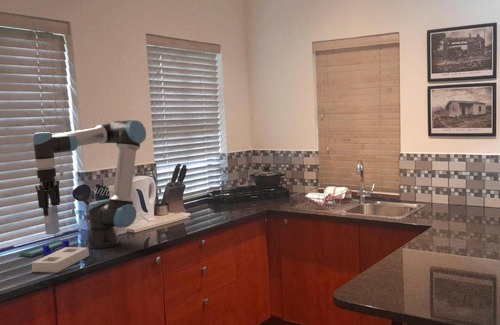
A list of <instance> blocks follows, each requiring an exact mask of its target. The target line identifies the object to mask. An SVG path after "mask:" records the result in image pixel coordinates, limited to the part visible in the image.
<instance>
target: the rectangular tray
mask: <svg viewBox="0 0 500 325" xmlns="http://www.w3.org/2000/svg"><path fill="white" fill-rule="evenodd" d="M63 240H64V239H55V240H52V241H49V242H47V243H42V244H40V245H37V246H34V247H31V248H28V249H25V250H22V251H21V250H20V251H19V252H18V254H19V255H20V256H21V257H30V258H33V257H36V256H39V255H41V254H42V255H43V245H49V248H50V250H51V251H53V250H54V249H57V248H61V246H62V243H63ZM68 240H69V239H68ZM70 242H71V240H69V243H70Z"/></svg>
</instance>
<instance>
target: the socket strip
mask: <svg viewBox="0 0 500 325" xmlns="http://www.w3.org/2000/svg"><path fill="white" fill-rule="evenodd" d="M57 250H58V251H57ZM57 250H55V251H56V252H55V251H54V253H52V254H50V255H47V256H45V255H44V257H41V258H38V259H37V260H34V261H32V262H31V269H32V270H31V271H32V272H33V273H56V274H57V273H59V272H61V271H63V270H65V269H66V268H68V267H71V266H72V265H74V264H76V263H78V262H80V261H82V260H84V259H87V258H88V257H89V256H90V255H89V254H90V252H89V247H74V246H72V247H71V246H69V247H65V248H63V249H61V250H59V249H57Z"/></svg>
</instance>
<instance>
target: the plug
mask: <svg viewBox="0 0 500 325" xmlns="http://www.w3.org/2000/svg"><path fill="white" fill-rule="evenodd" d="M48 208H50V213H51V222H52V223H45V218H44V217H43V221H44V228H45V235H56V234H58V233H60V222H59V212H58V205H51V204H49V207H48Z"/></svg>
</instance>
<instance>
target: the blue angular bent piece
mask: <svg viewBox="0 0 500 325" xmlns="http://www.w3.org/2000/svg"><path fill="white" fill-rule="evenodd" d="M62 240H63V243H62V246H61V247H59V249H57V250H55V251H53V250H50V248H49V245H43V244H42V245H43V253H42V255H43V256H44V257H45V256H47V255H50V254H52V253H54V252H56V251H58V250H61V249H63V248H65V247H70V242H69V239H62Z"/></svg>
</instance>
